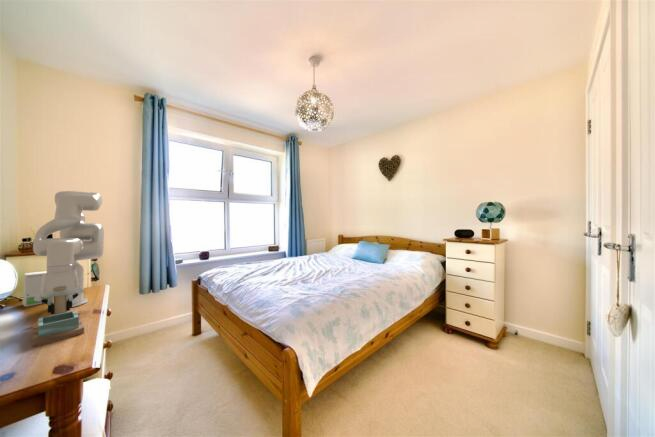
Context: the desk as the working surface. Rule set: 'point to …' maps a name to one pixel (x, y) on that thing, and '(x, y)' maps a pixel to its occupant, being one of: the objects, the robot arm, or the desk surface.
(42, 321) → the teal open box
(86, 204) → the robot arm
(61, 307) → the handle
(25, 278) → the skincare box
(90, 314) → the desk surface
